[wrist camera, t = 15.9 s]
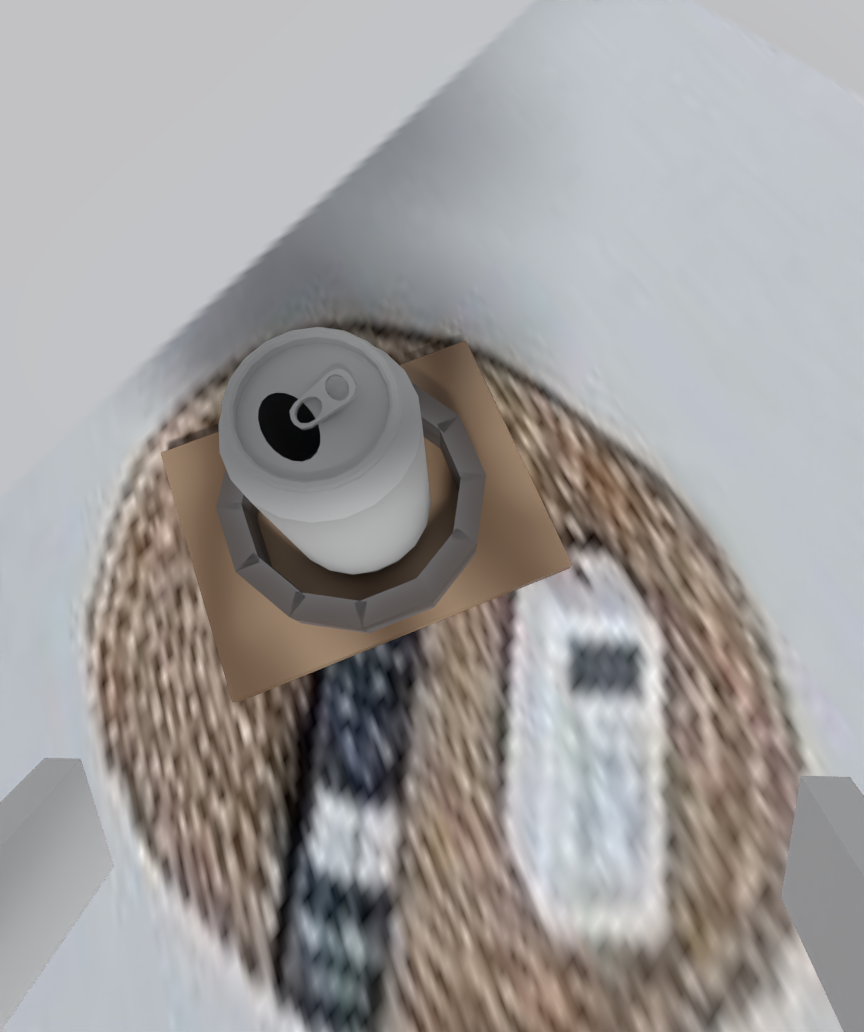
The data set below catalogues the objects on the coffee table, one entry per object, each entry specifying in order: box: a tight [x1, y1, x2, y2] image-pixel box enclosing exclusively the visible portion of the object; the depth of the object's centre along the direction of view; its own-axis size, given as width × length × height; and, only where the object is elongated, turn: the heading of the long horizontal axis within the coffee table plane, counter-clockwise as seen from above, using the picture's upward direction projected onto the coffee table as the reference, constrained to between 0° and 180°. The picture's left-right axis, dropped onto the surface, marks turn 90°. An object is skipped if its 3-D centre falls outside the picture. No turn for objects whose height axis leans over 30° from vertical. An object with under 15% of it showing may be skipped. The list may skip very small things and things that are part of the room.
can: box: [219, 327, 431, 575], centre depth 27 cm, size 8×8×12 cm
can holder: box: [161, 341, 572, 702], centre depth 32 cm, size 18×14×4 cm
